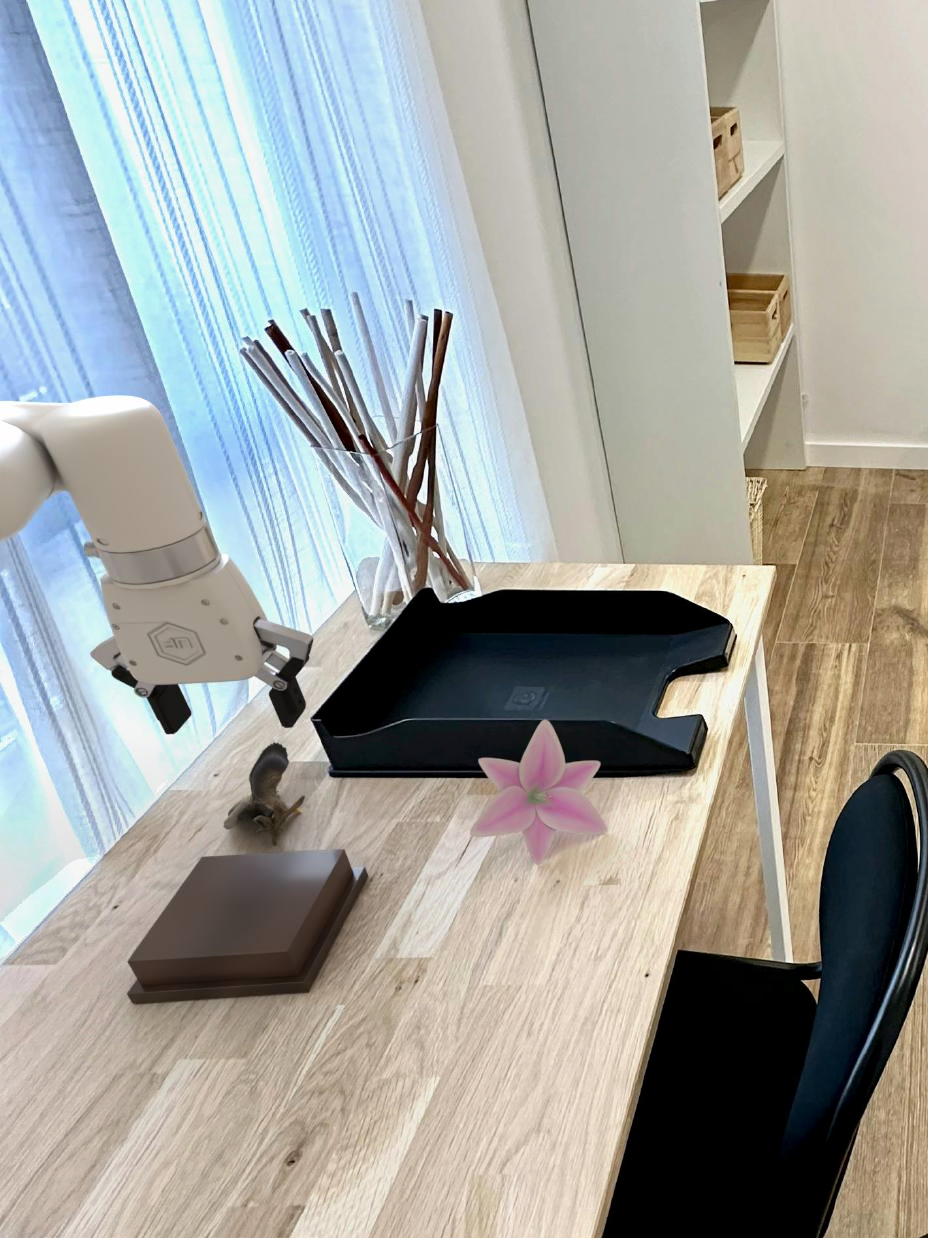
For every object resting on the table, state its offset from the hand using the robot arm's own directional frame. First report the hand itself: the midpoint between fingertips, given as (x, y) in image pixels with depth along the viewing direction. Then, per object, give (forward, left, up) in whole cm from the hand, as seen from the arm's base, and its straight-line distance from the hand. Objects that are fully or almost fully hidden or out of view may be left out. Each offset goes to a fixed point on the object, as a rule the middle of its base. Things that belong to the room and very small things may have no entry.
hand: (237, 721), depth 97 cm
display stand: (+5, -15, -11) cm, 20 cm away
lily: (+26, -4, -12) cm, 28 cm away
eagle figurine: (0, 0, -12) cm, 12 cm away
